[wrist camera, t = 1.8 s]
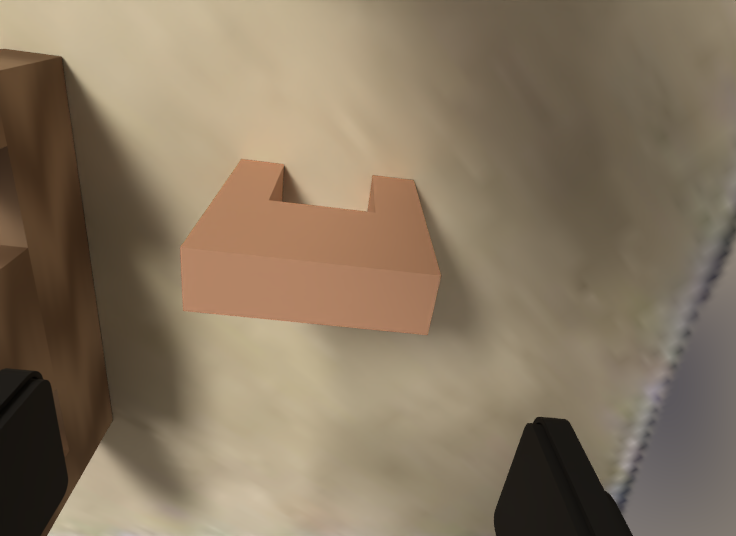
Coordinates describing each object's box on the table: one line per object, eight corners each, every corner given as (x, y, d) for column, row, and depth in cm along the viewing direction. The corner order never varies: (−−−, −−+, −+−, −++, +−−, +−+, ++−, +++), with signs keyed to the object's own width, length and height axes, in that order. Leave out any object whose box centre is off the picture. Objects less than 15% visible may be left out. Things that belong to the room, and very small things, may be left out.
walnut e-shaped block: (3, 48, 18) (-215, 85, 11) (61, 56, 19) (-120, 97, 12) (73, 416, 27) (-28, 567, 20) (112, 420, 27) (26, 571, 20)
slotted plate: (241, 159, 20) (179, 247, 13) (413, 180, 21) (441, 275, 14) (240, 205, 21) (183, 311, 14) (405, 224, 22) (427, 335, 15)
